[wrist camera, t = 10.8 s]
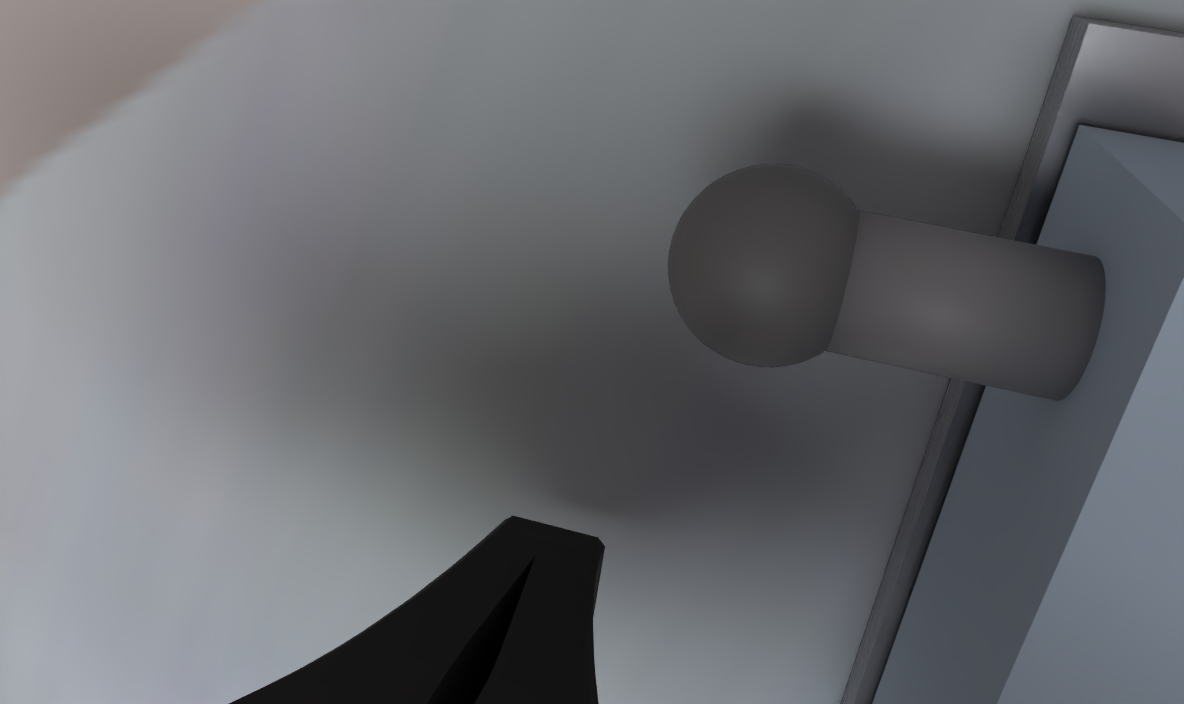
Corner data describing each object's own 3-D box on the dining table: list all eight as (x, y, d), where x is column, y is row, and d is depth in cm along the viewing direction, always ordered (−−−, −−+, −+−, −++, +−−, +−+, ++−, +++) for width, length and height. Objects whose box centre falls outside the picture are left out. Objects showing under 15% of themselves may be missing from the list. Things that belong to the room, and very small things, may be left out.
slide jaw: (1277, 159, 10) (1514, 295, 7) (982, 804, 14) (1026, 1093, 11) (723, 63, 11) (665, 137, 7) (605, 699, 15) (534, 935, 12)
